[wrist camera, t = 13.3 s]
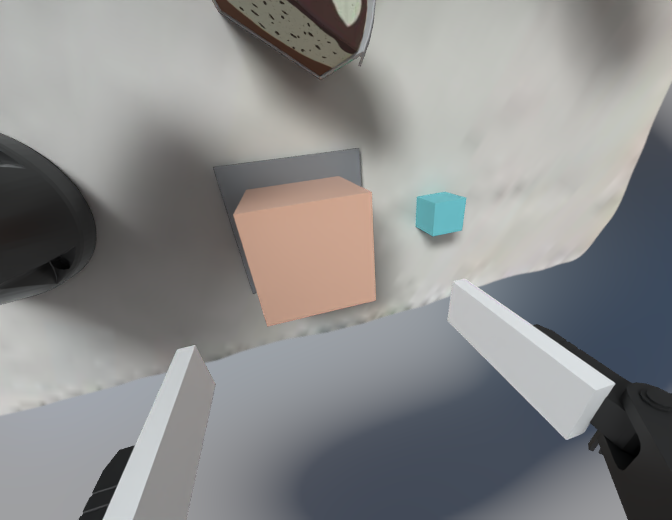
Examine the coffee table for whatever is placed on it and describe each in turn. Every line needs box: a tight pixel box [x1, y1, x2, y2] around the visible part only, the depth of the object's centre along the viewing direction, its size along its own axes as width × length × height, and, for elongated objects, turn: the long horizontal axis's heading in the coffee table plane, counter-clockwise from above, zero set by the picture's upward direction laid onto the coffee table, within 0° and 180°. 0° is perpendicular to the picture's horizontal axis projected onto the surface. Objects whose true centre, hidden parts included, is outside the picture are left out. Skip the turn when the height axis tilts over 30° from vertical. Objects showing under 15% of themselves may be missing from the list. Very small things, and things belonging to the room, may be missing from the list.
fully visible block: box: [416, 192, 466, 236], centre depth 31 cm, size 4×4×4 cm
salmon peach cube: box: [233, 176, 376, 327], centre depth 24 cm, size 10×10×10 cm
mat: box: [213, 148, 361, 294], centre depth 29 cm, size 15×15×1 cm
